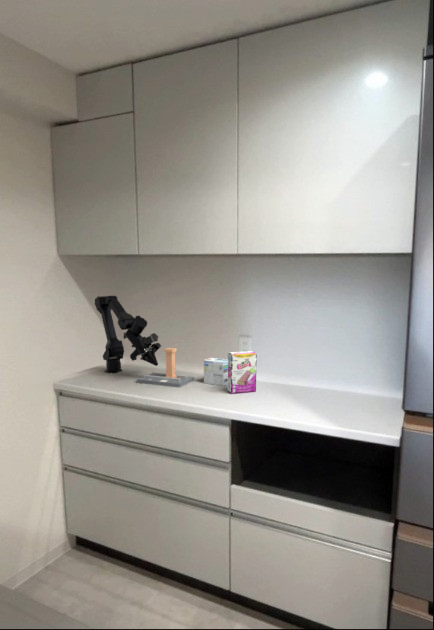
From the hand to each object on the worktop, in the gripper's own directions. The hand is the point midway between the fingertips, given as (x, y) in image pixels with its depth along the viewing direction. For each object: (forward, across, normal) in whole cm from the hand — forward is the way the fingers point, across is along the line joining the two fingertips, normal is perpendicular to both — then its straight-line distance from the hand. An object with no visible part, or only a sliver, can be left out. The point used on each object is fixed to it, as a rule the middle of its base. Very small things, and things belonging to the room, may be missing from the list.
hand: (157, 365), depth 198 cm
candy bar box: (+35, -4, -25) cm, 43 cm away
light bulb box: (+24, +6, -15) cm, 29 cm away
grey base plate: (+8, 0, +2) cm, 8 cm away
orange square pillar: (+9, 0, -1) cm, 9 cm away
